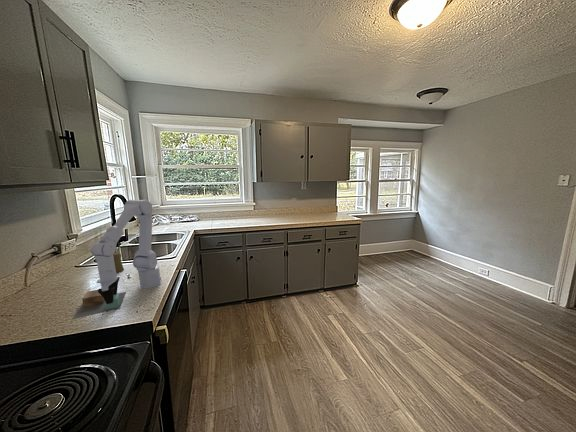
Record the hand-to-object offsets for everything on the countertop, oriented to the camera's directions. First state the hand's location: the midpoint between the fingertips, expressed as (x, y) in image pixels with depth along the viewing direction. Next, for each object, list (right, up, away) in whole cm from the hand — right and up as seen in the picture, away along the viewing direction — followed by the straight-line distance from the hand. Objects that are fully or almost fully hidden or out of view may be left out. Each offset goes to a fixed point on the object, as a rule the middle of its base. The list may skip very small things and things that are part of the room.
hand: (112, 298), depth 104 cm
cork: (-24, +3, +37) cm, 45 cm away
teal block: (0, -3, +1) cm, 3 cm away
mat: (-6, -3, +2) cm, 7 cm away
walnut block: (-11, -3, +5) cm, 12 cm away
